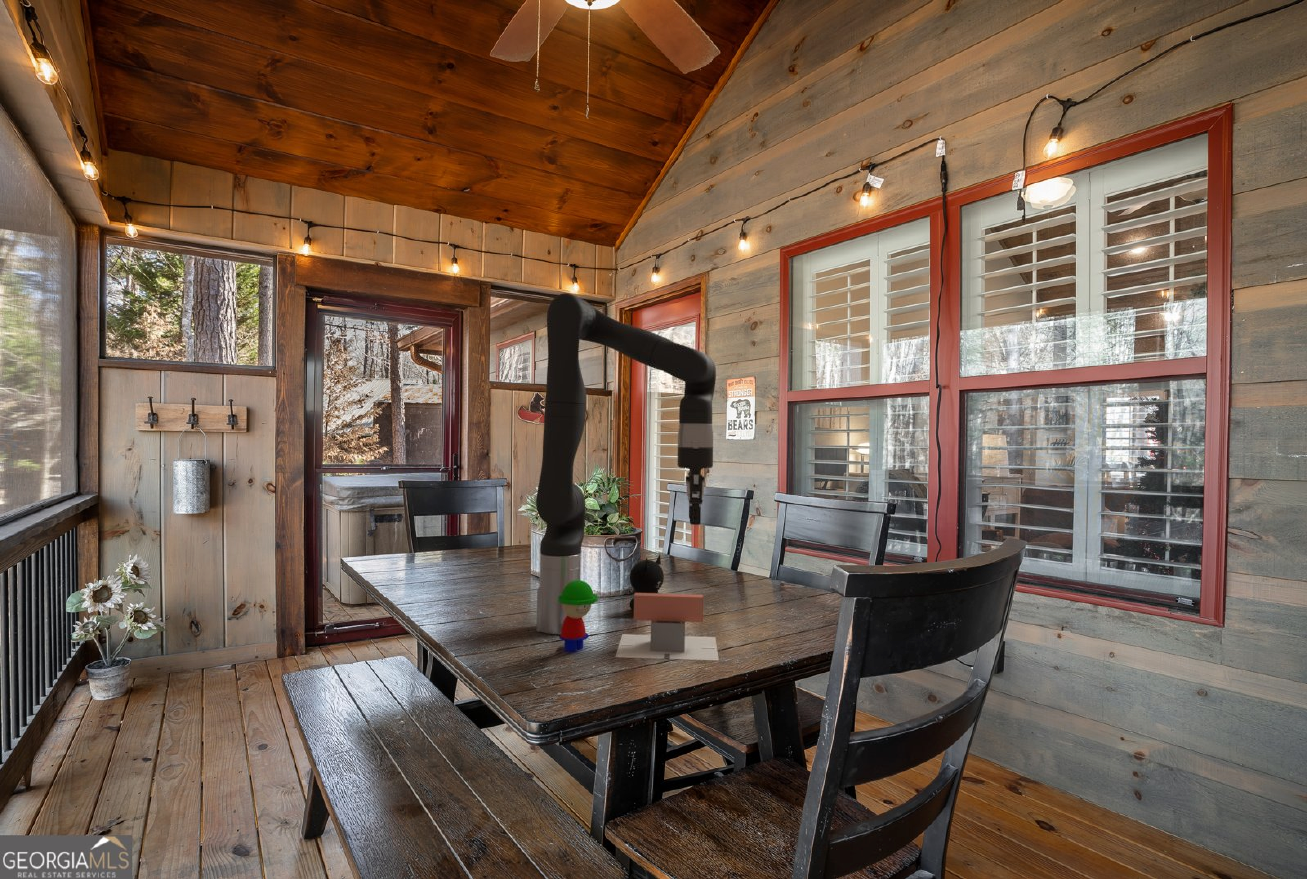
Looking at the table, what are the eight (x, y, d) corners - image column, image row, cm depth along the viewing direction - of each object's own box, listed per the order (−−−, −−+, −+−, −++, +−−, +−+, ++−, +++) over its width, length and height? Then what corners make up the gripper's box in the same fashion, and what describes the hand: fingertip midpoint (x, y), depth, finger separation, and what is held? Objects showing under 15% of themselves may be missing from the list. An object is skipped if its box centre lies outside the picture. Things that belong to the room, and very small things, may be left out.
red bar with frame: (632, 650, 131) (633, 598, 131) (634, 640, 138) (635, 590, 138) (702, 653, 131) (703, 600, 131) (701, 642, 137) (702, 592, 137)
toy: (580, 665, 126) (581, 586, 126) (548, 657, 130) (550, 581, 130) (604, 654, 132) (605, 579, 132) (574, 647, 137) (575, 575, 137)
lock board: (615, 663, 127) (615, 631, 127) (622, 639, 142) (622, 611, 142) (718, 666, 126) (719, 634, 126) (715, 642, 141) (715, 613, 141)
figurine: (660, 624, 155) (662, 561, 155) (617, 614, 163) (618, 553, 164) (699, 611, 167) (701, 552, 167) (657, 602, 176) (658, 546, 176)
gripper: (677, 445, 147) (676, 517, 147) (677, 445, 133) (676, 525, 133) (711, 445, 147) (710, 518, 147) (715, 445, 132) (714, 526, 132)
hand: (694, 521), depth 140 cm, fingers open, 8 cm apart
